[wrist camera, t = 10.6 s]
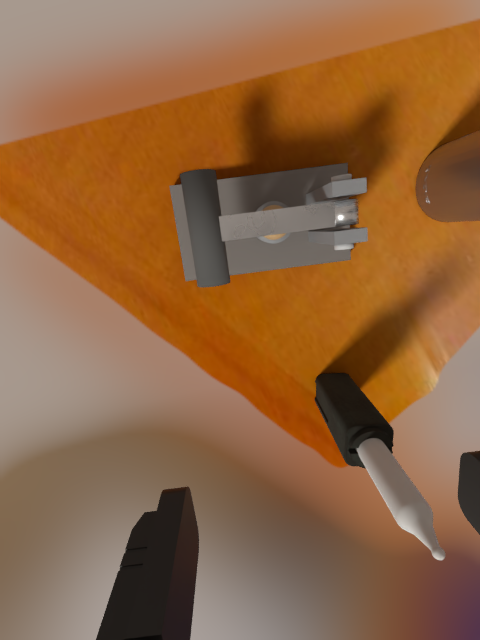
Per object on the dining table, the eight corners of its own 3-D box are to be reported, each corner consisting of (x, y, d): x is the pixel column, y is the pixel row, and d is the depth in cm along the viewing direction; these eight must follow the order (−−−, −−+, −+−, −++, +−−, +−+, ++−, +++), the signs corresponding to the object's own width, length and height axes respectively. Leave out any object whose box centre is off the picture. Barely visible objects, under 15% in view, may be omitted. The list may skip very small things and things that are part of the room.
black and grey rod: (315, 374, 46) (410, 532, 22) (351, 372, 46) (484, 528, 22) (314, 405, 47) (402, 587, 23) (348, 404, 47) (472, 583, 23)
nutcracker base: (341, 166, 39) (389, 138, 27) (345, 258, 42) (389, 268, 30) (172, 188, 39) (148, 170, 27) (187, 278, 42) (171, 296, 30)
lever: (346, 159, 31) (363, 149, 28) (349, 262, 34) (365, 265, 30) (182, 179, 31) (177, 172, 27) (199, 282, 33) (196, 288, 30)
